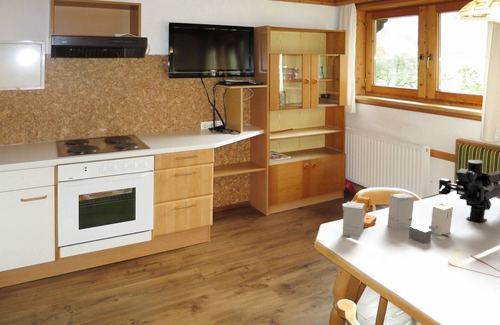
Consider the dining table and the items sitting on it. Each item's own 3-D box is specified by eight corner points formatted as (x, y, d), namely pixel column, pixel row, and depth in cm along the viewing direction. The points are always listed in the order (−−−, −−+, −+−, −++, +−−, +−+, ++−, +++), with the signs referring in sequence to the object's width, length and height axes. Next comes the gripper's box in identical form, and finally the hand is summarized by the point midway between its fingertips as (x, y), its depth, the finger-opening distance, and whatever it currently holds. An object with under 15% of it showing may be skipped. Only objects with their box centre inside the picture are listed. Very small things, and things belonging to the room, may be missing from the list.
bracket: (368, 229, 189) (370, 202, 186) (352, 226, 193) (354, 199, 190) (376, 222, 198) (378, 196, 195) (360, 218, 202) (362, 193, 199)
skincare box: (395, 232, 186) (397, 198, 183) (386, 227, 192) (389, 194, 188) (411, 230, 189) (415, 196, 185) (403, 225, 194) (406, 192, 191)
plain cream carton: (438, 228, 187) (441, 203, 184) (455, 234, 181) (458, 208, 178) (425, 233, 181) (427, 207, 179) (442, 239, 175) (445, 213, 173)
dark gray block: (414, 236, 179) (415, 224, 178) (430, 241, 174) (431, 229, 172) (408, 238, 177) (409, 226, 176) (424, 244, 171) (425, 232, 170)
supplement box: (363, 232, 186) (365, 203, 183) (359, 238, 179) (361, 208, 176) (346, 229, 189) (347, 201, 186) (341, 235, 182) (343, 206, 179)
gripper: (450, 163, 197) (429, 172, 188) (493, 171, 182) (472, 181, 173) (449, 187, 200) (429, 197, 191) (491, 197, 185) (471, 207, 176)
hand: (449, 195), depth 183 cm, fingers open, 9 cm apart
